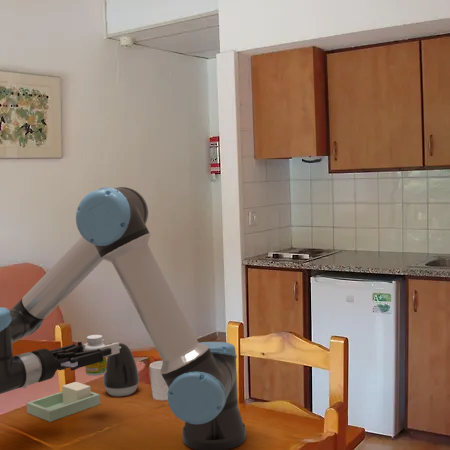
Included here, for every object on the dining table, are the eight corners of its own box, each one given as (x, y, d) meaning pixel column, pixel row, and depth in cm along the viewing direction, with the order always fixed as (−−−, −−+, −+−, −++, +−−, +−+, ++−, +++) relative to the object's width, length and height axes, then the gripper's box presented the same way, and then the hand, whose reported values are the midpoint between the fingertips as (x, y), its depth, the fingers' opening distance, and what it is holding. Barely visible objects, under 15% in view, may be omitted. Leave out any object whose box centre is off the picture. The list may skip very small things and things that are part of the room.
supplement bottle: (101, 376, 162) (100, 339, 161) (82, 376, 163) (80, 338, 162) (109, 370, 167) (108, 334, 166) (90, 369, 168) (89, 333, 168)
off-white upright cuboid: (91, 404, 175) (90, 386, 175) (77, 408, 172) (76, 390, 171) (76, 398, 180) (75, 381, 179) (62, 403, 176) (61, 385, 176)
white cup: (145, 399, 179) (143, 365, 179) (166, 392, 185) (164, 358, 184) (163, 405, 174) (162, 370, 173) (184, 397, 180) (183, 363, 179)
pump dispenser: (126, 386, 192) (124, 337, 191) (146, 394, 184) (144, 342, 183) (97, 395, 185) (94, 343, 184) (116, 403, 177) (114, 350, 176)
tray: (100, 406, 175) (99, 394, 175) (50, 424, 163) (49, 411, 163) (76, 398, 182) (76, 386, 182) (27, 415, 170) (26, 402, 170)
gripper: (14, 375, 158) (90, 354, 175) (57, 390, 145) (134, 365, 163) (12, 346, 157) (89, 327, 174) (55, 358, 145) (133, 336, 162)
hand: (110, 346), depth 169 cm, fingers closed on supplement bottle, 5 cm apart
